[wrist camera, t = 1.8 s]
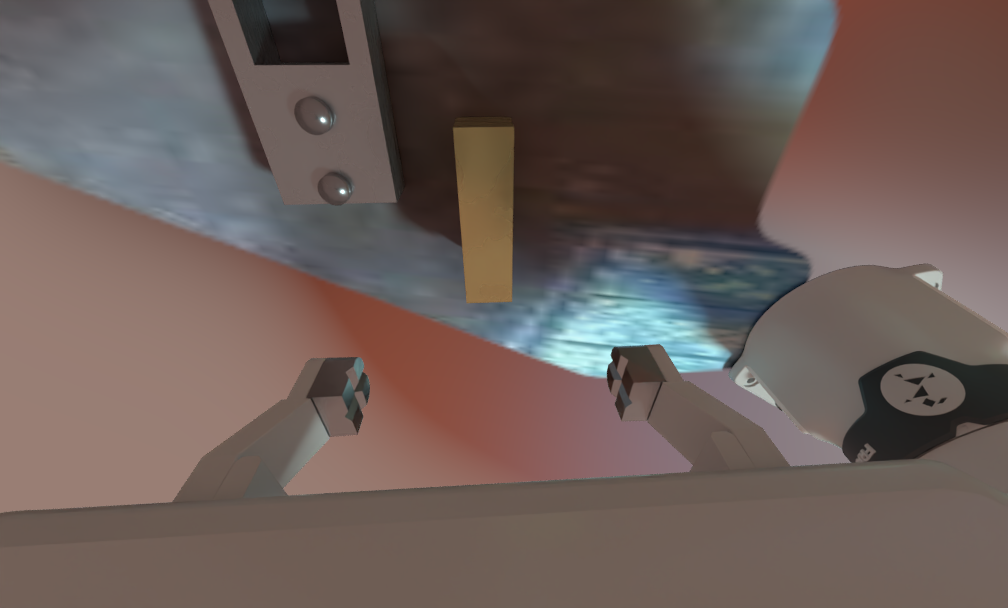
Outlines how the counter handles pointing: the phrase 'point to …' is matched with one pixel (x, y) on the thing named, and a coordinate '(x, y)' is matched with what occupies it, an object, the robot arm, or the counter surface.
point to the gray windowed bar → (318, 108)
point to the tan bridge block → (486, 205)
